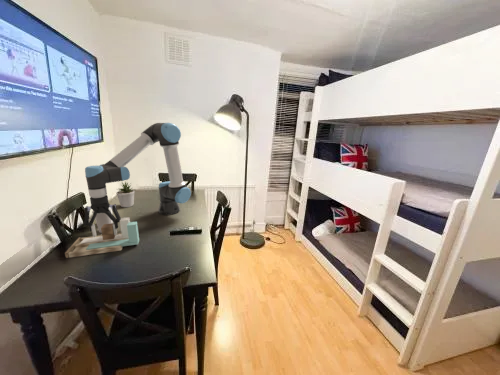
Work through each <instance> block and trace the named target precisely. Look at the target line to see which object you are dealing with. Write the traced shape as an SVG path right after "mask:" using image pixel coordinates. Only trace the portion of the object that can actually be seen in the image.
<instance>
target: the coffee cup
mask: <svg viewBox="0 0 500 375" xmlns="http://www.w3.org/2000/svg"><path fill="white" fill-rule="evenodd" d="M109 210H110V212H111V210H112V209H111V207H109ZM112 211H113V210H112ZM93 213H94V211H93V210H92V214H93ZM94 221H95V223H96V226H97V229H98V232H99V234H102V231H101V228H102V226H103V225H104V224H112V222H111V219H110V218H109V217H108V215H107V214H105V213H97V215H96V217H95V220H94Z"/></svg>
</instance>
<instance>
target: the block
mask: <svg viewBox="0 0 500 375" xmlns="http://www.w3.org/2000/svg"><path fill="white" fill-rule="evenodd" d="M113 223H114V222H113ZM113 223H112V224H104V225H103V226H102V228H101V231H102V233H101V235H102V237H103V240H108V239H114V238H115V236H116V235H114V229H113Z"/></svg>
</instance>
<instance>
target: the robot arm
mask: <svg viewBox="0 0 500 375" xmlns="http://www.w3.org/2000/svg"><path fill="white" fill-rule="evenodd" d="M181 137H182V133H181V129H180V128H179V126H177V125H176V124H174V123H172V122H155V123H153V124H151V125H150V126H148V127H147V128H146V129H144V130H143V131H141V133H140V136H138V137H137V138H136V139H135V140H133V141H132V142H131V143H130V144H128V145H127V146H125V147H124V148H123V149H122V150H121V151H120V152H118V153H117V154H116V155H114V156H113V157H112V158H111V159H110V160H108V161H107V162H106V163H102V164H100V165H89V166H85V168H84V173H85V179H86V184H87V189H88V196H89V201H90V206H88V205H86V206H85V207H84V209H83V210H84V221H83V223H84V224H83V225H84V226H86V227H88V228H89V232H91V233H92V236H93V238H94V237H96V236H98V235H97V230H96V225H95V223H94V221H96V220H95V217H96V215H97V213H105V214H107V215H108V217H109V218H110V219H111V220H112V221H113V229H114V235H116V234H118V228H119V223H120V219H121V218H122V217H121V215H120V214H119V211H118V208H117V204H116V203H114V204H110V203H109V197H108V191H107V184H110V183H111V184H112V183H118V182H123V181H124V182H125V181H128V180H129V179H130V176H131V174H130V170H129V168H128V167H127V166H126V165H128V164H129V163H130V162H132V161H133V160H134V159H135V158H136V157H138V155H140V154H141V153H142V152H143V151H145V150H146V149H147V148H149V146H153V145H154V144H156V143H158V142H159V146H160V147H161V148H162V149H163V153H164V154H163V155H164V158H165V163H166V167H167V168H166V169H167V173H168V178H169V181H162V182H160V183H159V184H158V191H159V200H160V201H159V207H158V214H159V215H164V216H165V215H166V216H167V215H168V216H170V215H174V214H178V213H179V212H181V208H180V205H179V204H185V203H187V202H188V201H189V200H190V198H191V195H192V192H191V189H190V188H189V187H188V186H187V182H186V181H184V179H183V172H182V168H181V167H182V166H181V160H180V154H179V150H178V146H179V145H180V142H179V141H180V139H181ZM109 207H111V209H112V213H113V214H112V213H111V212H110V210H109ZM91 210H92V211H94V213H92V215H91V216H92V217H91V218H90V212H91Z"/></svg>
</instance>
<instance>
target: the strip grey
mask: <svg viewBox="0 0 500 375" xmlns="http://www.w3.org/2000/svg"><path fill="white" fill-rule="evenodd" d="M120 218H121V219H120V222H119V226H120V233H122V234H118V233H117V234H118V235H116V236H115V238H114V239H108V240H116V239H124V238H125V240H126V239H129V236H128V229H127V224H128V222H131V217H120ZM100 236H101V235H100ZM83 238H84V237H83ZM108 240H103V237H102V236H101V237H94V238H84V239H83V241H82V242H81V244H84V243H92V242H100V241H108Z"/></svg>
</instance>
